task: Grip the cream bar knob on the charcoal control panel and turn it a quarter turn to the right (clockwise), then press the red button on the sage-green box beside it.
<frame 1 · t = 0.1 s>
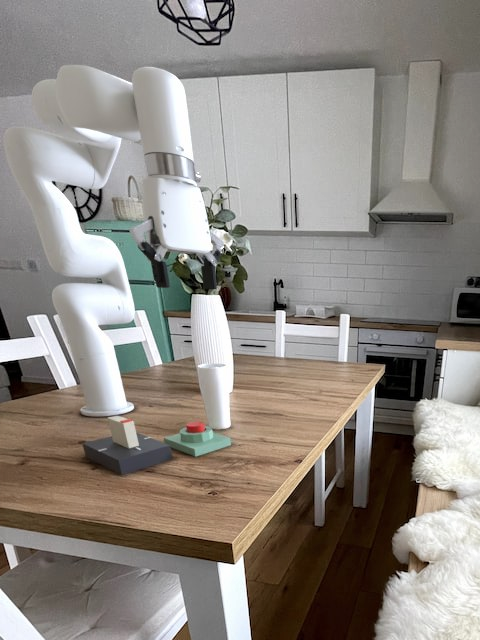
hand: (188, 288, 73), 31 cm above the table, tool pointing down, fingers open, 9 cm apart
knob: (123, 431, 77), point 6 cm above the table, hinge at 0.0°
button: (195, 427, 85), point 4 cm above the table, slide at 0.1 cm
button box: (198, 445, 87), on the table
panel: (129, 458, 79), on the table
drinking glass: (219, 427, 99), on the table
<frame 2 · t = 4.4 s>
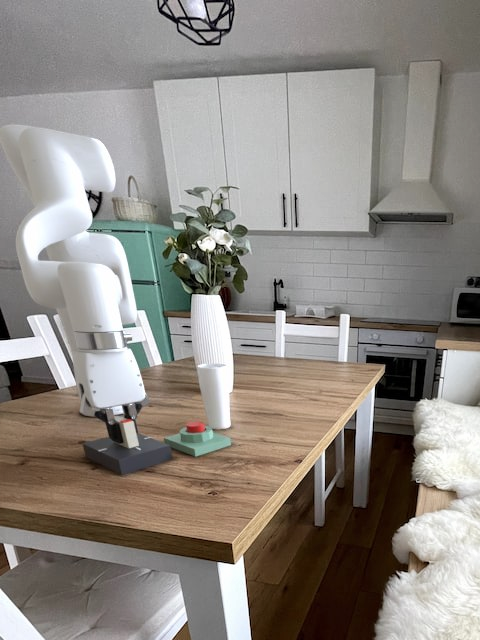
hand: (125, 439, 77), 4 cm above the table, tool pointing down, fingers closed on knob, 2 cm apart
knob: (123, 431, 77), point 6 cm above the table, hinge at 0.0°, touching gripper
everything else where it was.
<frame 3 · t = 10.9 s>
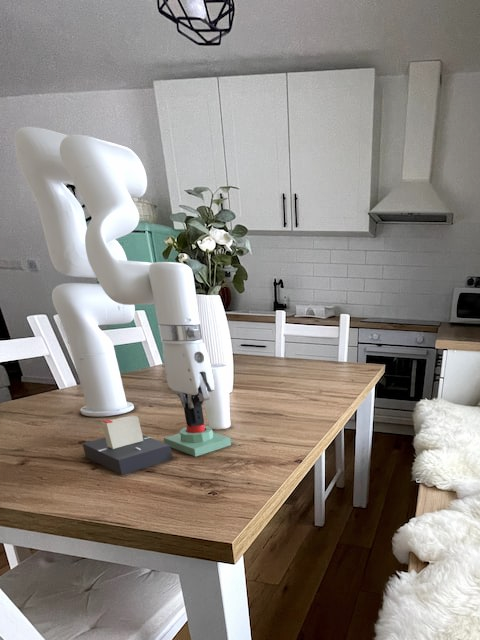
hand: (195, 424, 85), 5 cm above the table, tool pointing down, fingers closed
knob: (123, 431, 77), point 6 cm above the table, hinge at -89.5°
button: (195, 428, 85), point 4 cm above the table, slide at -0.1 cm, touching gripper
everything else where it was.
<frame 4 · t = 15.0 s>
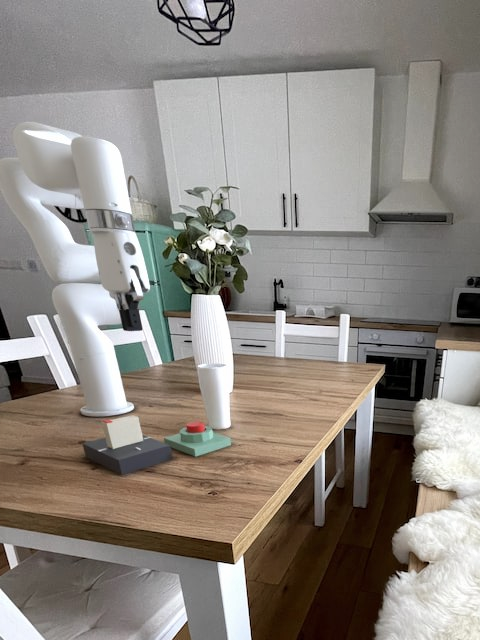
hand: (133, 330, 81), 23 cm above the table, tool pointing down, fingers closed
button: (195, 427, 85), point 4 cm above the table, slide at 0.1 cm
everything else where it was.
at the end: knob at -90° (first picture: +0°); button pushed in 1.1 cm at the most during the clip, back to where it started at the end; button slide at 0.1 cm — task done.
